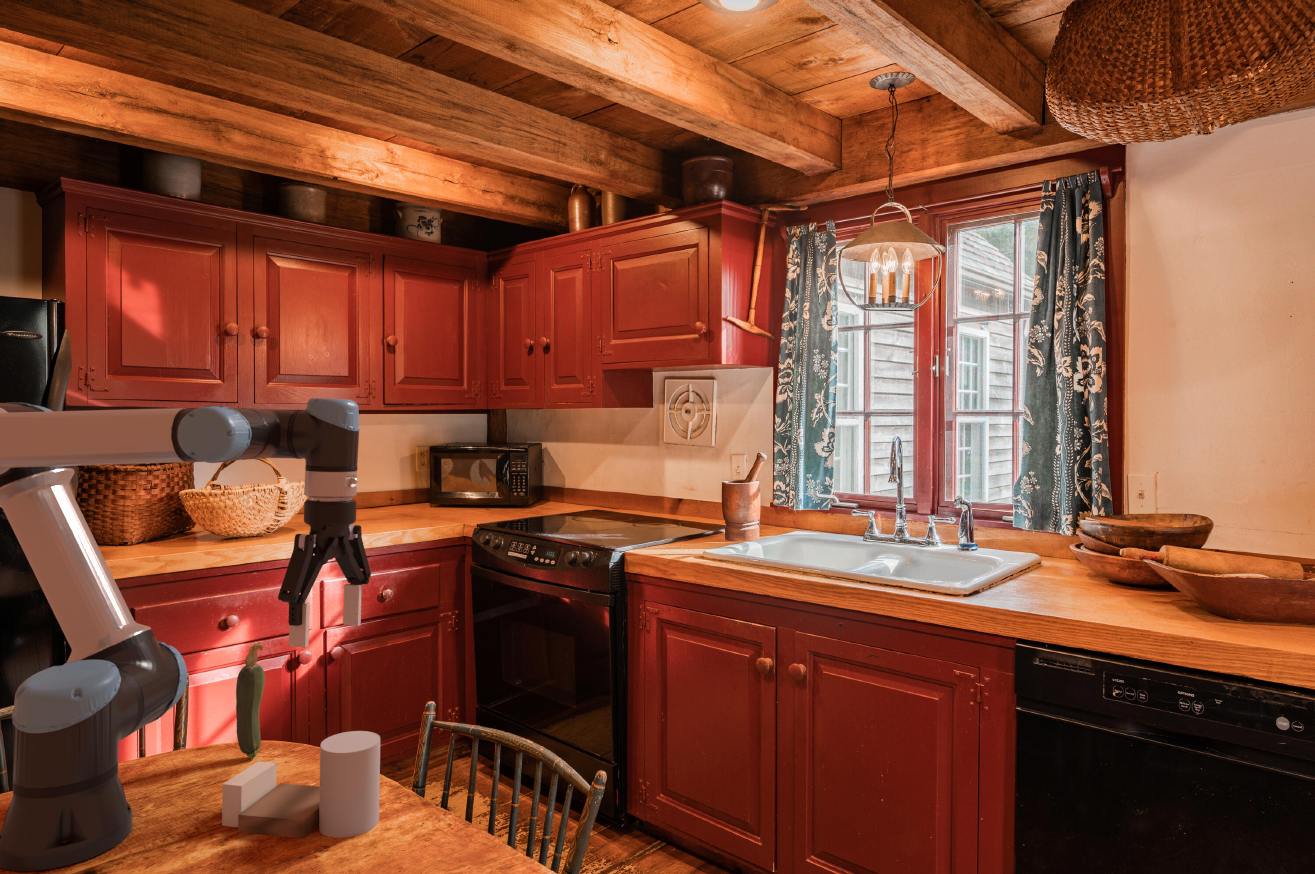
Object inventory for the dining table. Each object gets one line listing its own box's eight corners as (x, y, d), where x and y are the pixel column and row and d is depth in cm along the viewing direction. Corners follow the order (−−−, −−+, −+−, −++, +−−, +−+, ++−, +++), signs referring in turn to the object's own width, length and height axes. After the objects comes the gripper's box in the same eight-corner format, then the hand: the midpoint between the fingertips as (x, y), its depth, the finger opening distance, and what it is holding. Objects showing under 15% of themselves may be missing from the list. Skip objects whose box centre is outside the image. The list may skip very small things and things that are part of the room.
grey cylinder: (389, 813, 119) (391, 733, 119) (358, 840, 111) (360, 755, 111) (340, 807, 121) (342, 728, 121) (306, 833, 113) (308, 749, 113)
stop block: (222, 825, 115) (222, 783, 115) (258, 799, 123) (258, 761, 123) (241, 827, 114) (241, 785, 114) (275, 801, 122) (276, 762, 122)
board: (238, 835, 113) (238, 814, 113) (280, 802, 123) (280, 783, 123) (304, 841, 112) (304, 819, 112) (341, 807, 122) (341, 787, 122)
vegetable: (230, 761, 136) (231, 645, 136) (244, 751, 140) (245, 638, 140) (255, 762, 136) (257, 645, 136) (268, 752, 140) (270, 639, 140)
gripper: (301, 506, 110) (296, 659, 111) (395, 493, 135) (390, 618, 135) (253, 503, 112) (248, 654, 112) (354, 491, 136) (350, 615, 136)
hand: (326, 635), depth 123 cm, fingers open, 13 cm apart
